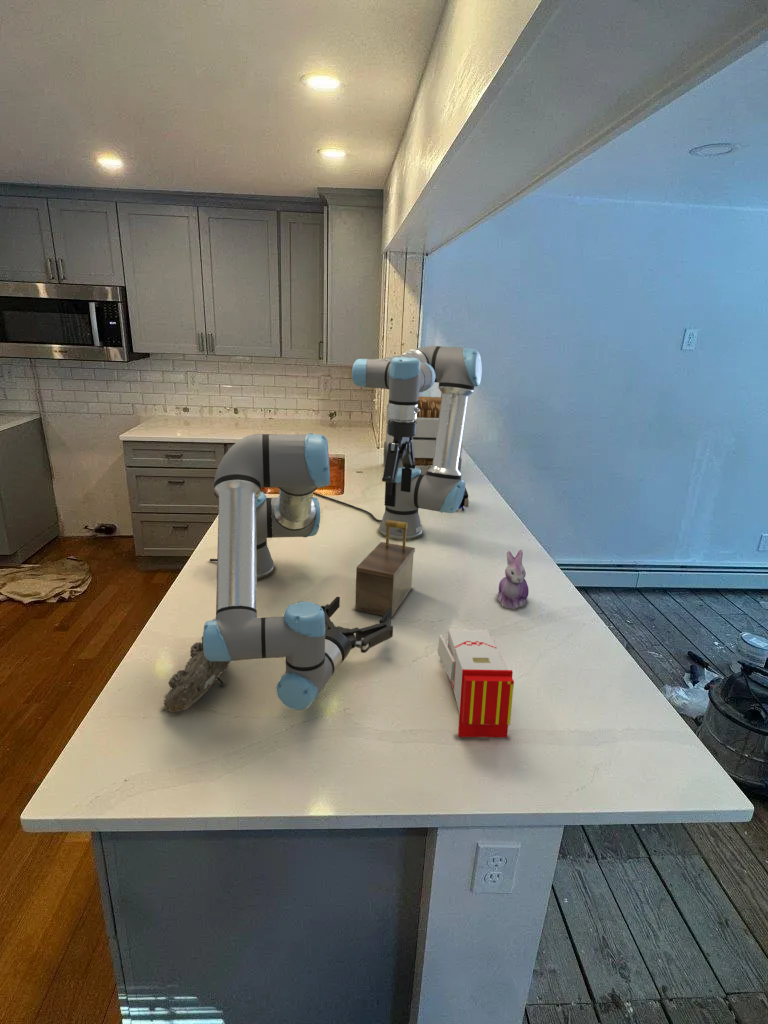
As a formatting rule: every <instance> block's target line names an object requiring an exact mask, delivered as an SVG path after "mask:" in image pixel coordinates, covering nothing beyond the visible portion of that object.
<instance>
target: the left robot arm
mask: <svg viewBox="0 0 768 1024" xmlns="http://www.w3.org/2000/svg"><path fill="white" fill-rule="evenodd" d="M214 474H215V475H214V480H213V494H214V496H215V497H216V498H217V500H218V510H217V511H218V517H217V518H218V519H217V558H209V562H216V596H215V597H216V598H215V599H216V600H215V601H216V603H215V619H214V618H213V619H211V620H206V621H205V622H204V625H203V632H202V637H203V650H204V655H205V657H206V659H207V660H209V661H230V663H231V662H236V661H247V660H259V659H277V658H285V659H284V660H285V672H284V674H282V676H281V677H280V679H279V680H278V682H277V684H276V695H277V698H278V700H279V701H280V702H281V703H282V704H283V705H284V706H285V707H287V708H289V709H291V710H295V711H303V710H306V709H308V708H309V707H310V706H311V705H312V703H313V702H314V701H315V700H317V699H318V698H319V696H320V694H321V693H322V691H323V690H324V688H325V687H326V685H328V683H329V681H330V680H331V679H332V677H333V675H334V674H335V673H336V671H337V670H338V669H339V668H340V666H341V665H342V663H343V662H344V661H345V660H346V658H347V657H348V655H349V654H350V652H351V650H353V649H355V648H357V649H360V653H363V654H365V653H367V652H368V651H369V650H370V649H371V648H374V647H375V646H377V645H379V644H381V643H383V642H386V641H387V640H390V639H392V638H393V637H394V626H393V625H392V619H393V616H392V608H388V610H387V611H386V613H385V614H384V615H383V616H382V617H381V618H380V619H379V623H376V624H372V625H368V626H365V627H362V628H359V627H353V628H347V627H343V626H339V625H338V626H336V625H335V624H334V621H332V620H331V617H332V616H333V615H334V614H335V613H336V612H337V611H338V609H339V608H340V607H341V605H340V604H341V598H340V596H336V597H335V598H334V599H333V600H332V601H331V602H330V603H329V604H328V603H327V604H325V605H321V606H320V605H319V604H317V603H315V602H311V601H297V603H291V604H289V605H288V606H287V607H286V608H285V610H284V614H283V615H282V616H263V617H258V580H261V579H264V578H267V577H268V576H270V575H272V573H273V572H274V570H275V564H274V559H273V557H272V555H271V551H270V549H269V545H268V539H273V538H276V539H277V538H308V537H314V536H316V535H317V534H318V533H319V529H320V524H321V504H320V501H319V499H318V498H317V497H316V496H314V494H313V492H314V493H315V492H316V491H317V489H320V488H323V487H328V486H330V484H331V469H330V454H329V443H328V438H327V437H326V436H325V435H323V434H318V433H317V434H314V433H312V432H309V433H305V434H303V433H301V434H299V433H298V434H297V433H293V434H292V433H291V434H290V433H288V434H287V433H286V434H285V433H252V434H250V435H247V436H245V437H244V436H243V438H241V439H239V440H238V441H236V442H235V443H234V444H233V445H231V446H230V447H229V448H228V450H227V451H226V452H225V454H224V455H223V457H222V458H221V460H220V462H219V464H218V466H217V468H216V471H215V473H214ZM262 488H278V489H279V491H278V493H279V494H278V496H277V497H267V495H266V493H265V492H263V491H262Z"/></svg>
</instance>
